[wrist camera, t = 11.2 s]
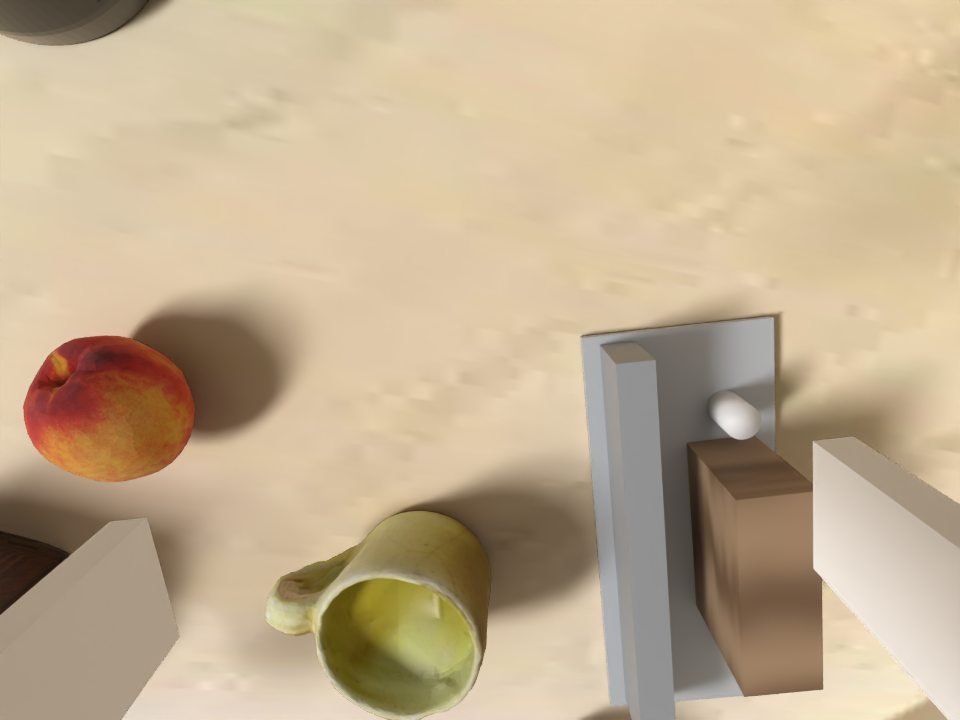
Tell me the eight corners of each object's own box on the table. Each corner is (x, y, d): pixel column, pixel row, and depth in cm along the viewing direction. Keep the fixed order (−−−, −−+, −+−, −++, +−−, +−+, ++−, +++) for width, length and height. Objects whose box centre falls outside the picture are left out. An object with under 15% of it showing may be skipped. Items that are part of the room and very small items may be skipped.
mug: (541, 527, 39) (492, 663, 30) (486, 628, 44) (432, 769, 35) (361, 437, 40) (266, 543, 32) (329, 546, 45) (240, 662, 37)
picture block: (686, 442, 39) (735, 500, 31) (757, 434, 39) (825, 490, 31) (696, 605, 41) (744, 696, 33) (763, 598, 41) (827, 688, 33)
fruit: (202, 317, 38) (129, 344, 30) (229, 446, 40) (165, 502, 32) (73, 331, 39) (-33, 361, 31) (105, 458, 40) (12, 517, 32)
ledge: (580, 336, 38) (595, 356, 33) (769, 316, 38) (816, 333, 32) (609, 700, 43) (626, 769, 38) (775, 686, 43) (816, 754, 38)
